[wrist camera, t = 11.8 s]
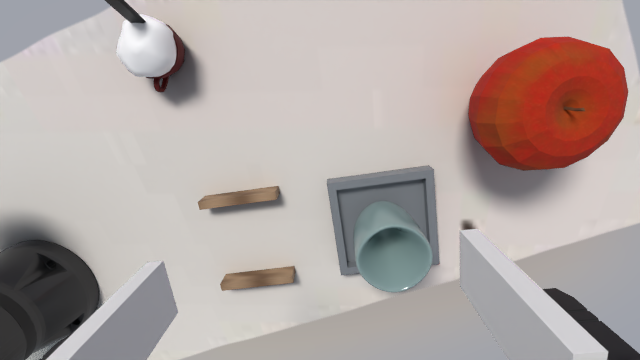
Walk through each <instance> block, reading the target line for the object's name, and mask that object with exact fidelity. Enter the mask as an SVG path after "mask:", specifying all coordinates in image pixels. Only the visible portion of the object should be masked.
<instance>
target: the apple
mask: <svg viewBox="0 0 640 360" xmlns="http://www.w3.org/2000/svg"><path fill="white" fill-rule="evenodd" d="M627 96H628V88H627V83H626V77H625V71H624V67H623V66H622V65H621V64H620V62H619V61H618V60H617V58H616V57H615V56H614V54H613V53H612V52H611V51H610V49H608V48H605V47H601V46H598V45H595V44H591V43H588V42H585V41H581V40H578V39H575V38H571V37H550V38H540V39H537V40H535V41H533V42H531V43H529V44H527V45H524V46H522V47H520V48H518V49H516V50H514V51H512V52H510V53H508V54H506V55H504V56H502V57H500V58H498V59H497V60H496V61H495V62H494V64H493V65H492V66H491V67H490V68H489V69H488V70H487V71H486V72H485V73H484V74H483V75H482V77H481V78H480V80H479V81H478V83H477V84H476V86H475V88H474V90H473V93H472V95H471V97H470V103H469V113H468V114H469V120H470V123H471V127H472V131H473V135H474V138H475V139H476V140H477V141H478V142H479V143H480V144H481V146H482V147H483V148H484V149H485V150H486V151H487V152H488V153H489V154H490V155H491V156H492V157H493V158H494V159H495V160H496V161H497V162H498V163H499V164H501V165H505V166H508V167H512V168H516V169H520V170H540V169H554V168H565V167H567V166H569V165H571V164H573V163H575V162H577V161H579V160H582V159H584V158H586V157H588V156H589V155H590V154H591V153H593V152H594V151H595V150H596V149H598V148H599V147H600V146H601V145H603V144H604V143H605V142H606V141H607V140H608V139H609V138H610V136H611V135H612V133H613V132H614V131H615V129H616V128H617V126H618V125H619V123H620V122H621V120H622V119H623V117H624V111H625V106H626V101H627Z"/></svg>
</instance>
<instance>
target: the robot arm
mask: <svg viewBox="0 0 640 360" xmlns="http://www.w3.org/2000/svg"><path fill="white" fill-rule="evenodd" d="M460 287H461V289H462V290H463V292H464V293H465V295H466V296H467V298H468V299H469V301H470V302H471V304H472V305H473V307H474V308H475V310H476V311H477V313H478V314H479V316H480V317H481V319H482V320H483V322H484V323H485V325H486V327H487V328H488V330H489V331H490V333H491V334H492V336H493V337H494V338H495V340H496V342H497V343H498V345H499V346H500V348H501V349H502V350H503V352H504V354H505V355H506V357H507V358H508V359H509V360H640V354H639V353H638V352H637V351H635V350H634V349H633V348H632V347H631V346H630V345H629V344H627V343H626V342H625V341H624V340H623V339H621V338H620V337H619V336H618V335H617V334H616V333H614V332H613V331H612V330H611V329H610V328H609V327H607V326H606V325H605V324H604V323H603V322H602V321H599V320H598V318H597V317H596V316H595V315H593V314H592V313H591V312H590V311H587V309H586V308H585V307H584V306H583V305H582V304H581V303H579V302H578V301H577V300H576V299H575V298H574V297H572V296H570V295H568V294H566V293H564V292H562V291H560V290H558V289H556V288H552V289H541V288H540V287H539V286H538V285H537V284H536V283H535V282H534V281H533V280H532V279H531V278H529V276H527V275H526V274H525V273H524V272H523V271H522V270H521V269H520V268H519V267H518V266H517V265H516V264H515V263H514V262H513V261H512V260H511V259H509V258H508V257H507V256H506V255H505V254H504V253H503V252H502V251H501V250H500V249H499V248H498V247H497V246H496V245H495V244H494V243H492V242H491V241H490V240H489V239H488V238H487V237H486V236H485V235H484V234H483V233H482V232H481V231H480V230H479V229H471V230H461V231H460ZM98 299H99V293H98V287H97V283H96V280H95V278H94V276H93V274H92V272H91V271H90V269H89V268H88V267H87V265H86V264H85V263H84V262H83V261H82V260H81V259H80V258H79V257H78V256H76V255H75V254H74V253H72V252H71V251H69V250H68V249H66V248H64V247H62V246H60V245H57V244H54V243H51V242H47V241H40V240H30V241H24V242H20V243H18V244H15V245H13V246H11V247H9V248H7V249H5V250H3V251H1V252H0V360H25V359H27V358H28V357H29V356H30V355H31V354H32V353H34V352H36V351H38V350H40V349H42V348H44V347H46V346H48V345H50V344H52V343H54V342H56V341H58V340H60V339H62V338H64V337H66V336H67V337H66V338H64V339H63V340H61V341H60V342H58V343H57V344H55V345H54V346H53V347H52V348H51V349H50V350H49V351H48V352H47V353H46V354H45V355H44V356H43V358H42V359H40V360H146V359H147V358H148V357H149V355H150V354H151V352H152V351H153V349H154V348H155V346H156V345H157V343H158V342H159V340H160V339H161V337H162V336H163V334H164V333H165V331H166V330H167V328H168V327H169V325H170V324H171V322H172V321H173V319H174V318H175V316H176V315H177V313H178V310H177V307H176V303H175V300H174V296H173V293H172V289H171V286H170V282H169V279H168V275H167V272H166V268H165V265H164V261H154V262H147V263H146V264H145V265H144V266H143V267H141V268H140V269H139V270H138V271H137V272H136V273H135V274H134V275H133V276H132V277H131V278H130V279H129V280H128V281H127V282H126V283H125V284H124V285H123V286H122V287H121V288H120V289H119V290H118V291H117V292H115V293H114V294H113V295H112V296H111V297H110V298H109V299H108V300H107V301H106V302H105V303H104V304H103V305H102V306H101V307H100V308H99V309H98V310H97V311H96V312H95V310H96V308H97V305H98ZM94 312H95V313H94ZM71 333H72V334H71ZM68 335H69V336H68Z"/></svg>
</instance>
